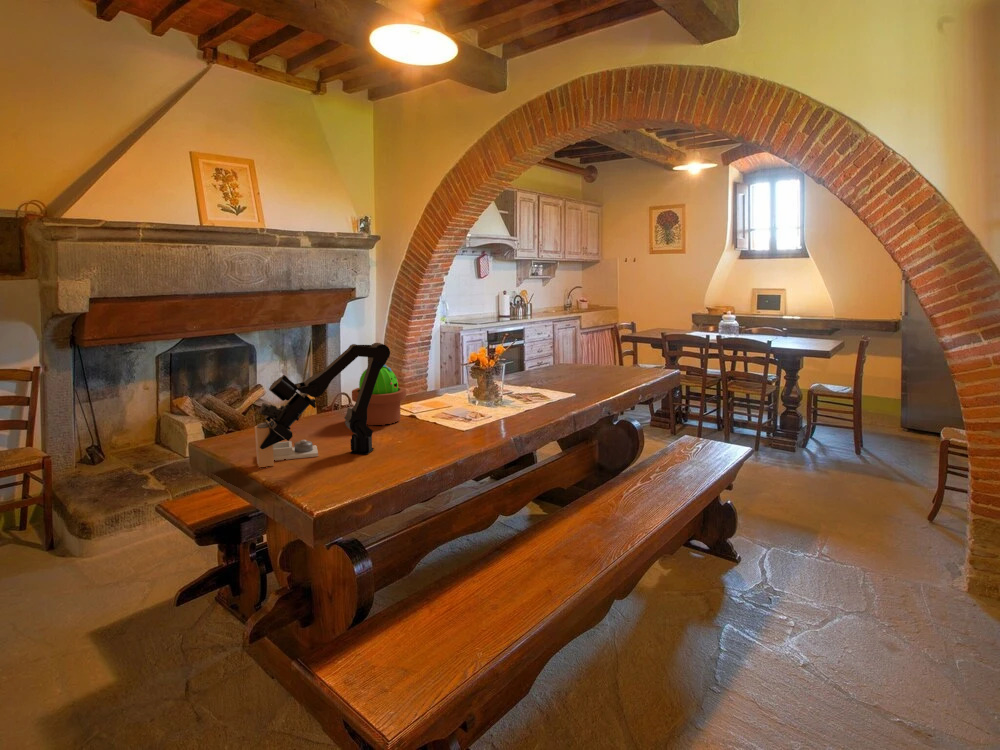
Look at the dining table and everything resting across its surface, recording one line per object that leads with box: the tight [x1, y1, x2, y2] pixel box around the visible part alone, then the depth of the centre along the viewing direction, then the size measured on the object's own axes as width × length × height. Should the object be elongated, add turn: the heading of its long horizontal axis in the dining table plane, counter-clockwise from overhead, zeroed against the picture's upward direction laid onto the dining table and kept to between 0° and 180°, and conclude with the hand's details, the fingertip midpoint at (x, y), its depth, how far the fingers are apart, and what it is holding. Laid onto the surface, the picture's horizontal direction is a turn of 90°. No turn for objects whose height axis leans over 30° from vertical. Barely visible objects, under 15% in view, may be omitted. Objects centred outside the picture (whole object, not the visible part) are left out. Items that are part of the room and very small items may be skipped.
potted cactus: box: [351, 364, 407, 426], centre depth 247 cm, size 22×22×25 cm
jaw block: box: [254, 422, 275, 468], centre depth 189 cm, size 4×4×14 cm
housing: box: [273, 439, 319, 461], centre depth 201 cm, size 18×10×5 cm, turn 110°
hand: (259, 446), depth 189 cm, fingers closed on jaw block, 4 cm apart
